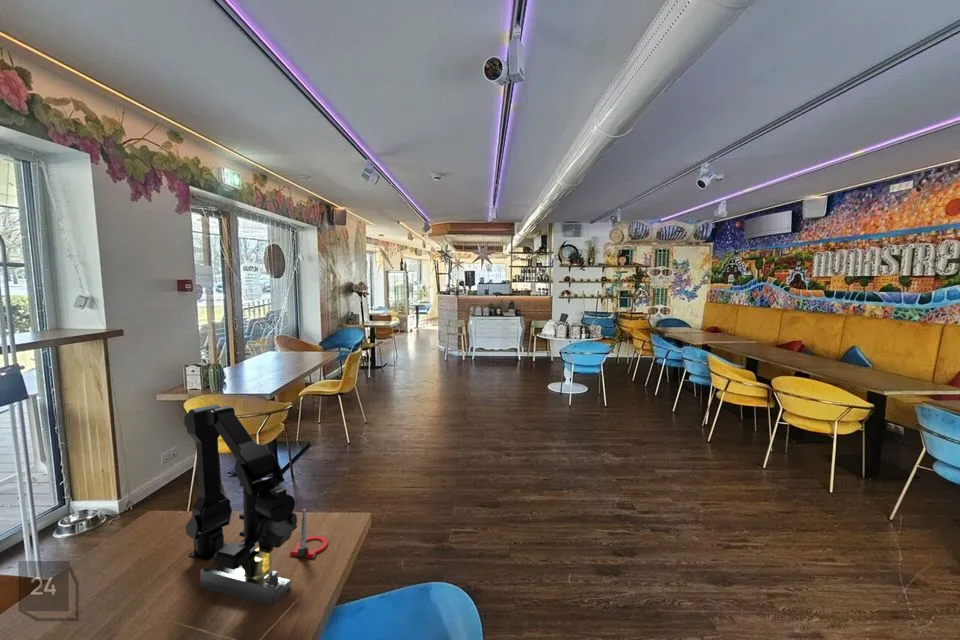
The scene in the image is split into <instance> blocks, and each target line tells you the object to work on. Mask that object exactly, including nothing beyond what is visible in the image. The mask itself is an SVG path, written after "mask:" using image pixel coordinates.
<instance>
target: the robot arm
mask: <svg viewBox="0 0 960 640" xmlns="http://www.w3.org/2000/svg"><path fill="white" fill-rule="evenodd" d="M183 423H184V426H185V428H186V433H187V434H188V435H189V436H190V437H191V438H192V440H194V441H195V451H196V452H195V453H196V466H197V468H196V469H197V483H198V497H197V499H196V500H195V502H194V505H193V506H192V509H191V510H192V511H191V513H192V514H191V515H192V516H191V517H190V519H189V520H188V521H187V523H186V525H185V532H186V533H185V534H186V535H187V536H188V537H190V538H191V539H192V540H193V548H194V549H193V551H192V552H189V554H188V557H190V558H193V559H194V558H195V559H199V560H204V561H209V560H211V559H212V558H213V564H214V566H218V567H219V566H221V567H225V568H229V569H237V568H239V567H240V566H242V569H244V570H245V572H246V573H247V575H248V576H249V577H251V578H252V577H253V576H254V570H255V557H256V556H257V555H258V554H259V553H260V552H257V551H255V550H256V549H255V548H256V545H257V544H258V548H262V549H267V550H271V551H272V552H273V550H274V548H275V549H276V548H281V547H282V546H283V545H284V544H285V543H286V542H288V541H289V540H290V539H291V537H292V534H293V531H294V530H296V529H297V528H298V526H297V524H298V518H297V517H298V516H297V513H294V510H295V506H296V501H295V499H294V497H293V496H292V495H290V494H289V493H287V489H286V488H283V487H279V484H282V483H284V482H285V479H284V472H283V470H282V468H281V466H280V464H279V462H278V460H277V458H276V456H275V455H274V454H273V453H272V452H271V451H270V450H269V449H268V448H267V446H265V445H263V444H259V443H256V442H255V441H254V439H253V438H252V436H251V435H250V434H249V432H248V431H247V429H246V428H245V427H244V425H243V424H242V422H241V421H240V419H239V418H238V417H237V415H236V413H235V408H234V407H233V406H231V405H224V406H220V405H219V404H217V403H216V404H209V405H207V406H206V405H205V406H201V407H197V408H191V409H189V410H188V412H187V413H186V414H185V415H184V418H183ZM220 437H221V438H222V440H223V442H224V443H225V445H226V446H227V448H228V449H229V450H230V452H231V453H232V455H233V456H234V459H235V462H234V471H235V474H236V477H237V479H238V481H239V486H240V487H242V489H243V490H242V491H243V492H242V494H243V496H242V497H243V498H242V499H243V502H242V503H243V506H242V507H243V512H241V513H240V514H239V515H238V516H239V518H238V519H239V520H243V529H241V530H240V531H239V537H242V538H244V539H242V540H241V541H240V543H237V542H232V541H230V542H228V543H225V541H224V540H225V539H224V538H225V537H224V532H223V531H224V530H223V529H224V527H227V526H228V525H230V522H231V517H232V512H233V510H232V506H231V500H230V499H229V498H227V497H226V496H225V495H224V494H223V492H222V486H221V485H222V483H221V470H220V469H221V468H220V455H219V454H220V453H219V451H220V450H219V438H220ZM272 475H273V476H272ZM269 476H272V477H269ZM268 477H269V478H268ZM264 478H266V479H264Z"/></svg>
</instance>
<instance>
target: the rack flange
mask: <svg viewBox="0 0 960 640" xmlns="http://www.w3.org/2000/svg"><path fill="white" fill-rule="evenodd" d="M199 575H200V576H199V577H200V579H199V580H200V584H199V585H200V588H201V589H205V590H209V591H214V592H217V593H220V594H224V595H228V596H232V597H236V598H240V599H243V600H247V601H251V602H255V603H259V604H263V605H268V606H271V607H272V606H273V605H274V604H275V603H277V601H278V600H279V599H280V598H282V596H283V595H284V594H285V593H286V592H287V591H288V590H289V589H290V588H291V583H292V582H291V579H288V578H284V577H281V576H279V571H277V570H272V571H271V572H270V573H269V574H268V575H267V576H266V577H264V578H263V579H262V580H261V581H258V580H255V579H251V578H247V577H245V570H244V569H243V568H237V569H229V568H225V567H221V566H218V567H216V568H215V569H213V568H212V569H211V568H207V567H203V568H201V569H200V571H199Z"/></svg>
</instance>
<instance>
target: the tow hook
mask: <svg viewBox="0 0 960 640" xmlns="http://www.w3.org/2000/svg"><path fill="white" fill-rule="evenodd" d="M306 511H307V509H306V508H303V509H302V514H301V515H302V516H301V526H300V529H301V530H300V539H299V541H298V542H297V543H296V544H295V549H292V550H291V551H290V553H289V555H290V556H291V557H296V558H303V559H311V560H314V559H315V557H316V556H317V555H318V554H319V553H322V552H323V551H325V550H326V549H327V547H328V546H329V540H328V538H327V537H325V536H323V535H310V536H307V517H306V515H307V513H306ZM311 541H320V542H321V543H322V544H321V545H320V546H319V547H317V548H314V549H310V550H309V546H307V542H311Z"/></svg>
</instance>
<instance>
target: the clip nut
mask: <svg viewBox="0 0 960 640" xmlns="http://www.w3.org/2000/svg"><path fill="white" fill-rule="evenodd" d="M255 551H257V552H260V553H259V554H258V555H257V556H256V557H255V570H254V576H253V577H252V578H251V577H249V576H248V575H247V573H246V572H245V577H247V578H251V579H255V580H258V581H261V580H262V579H263V578H264V577H266V576H267V575H269V574H270V573H272V572H273V557H272V556H273V551H271V550H267V549H262V548H259V547H257V548H256V549H255Z"/></svg>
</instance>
